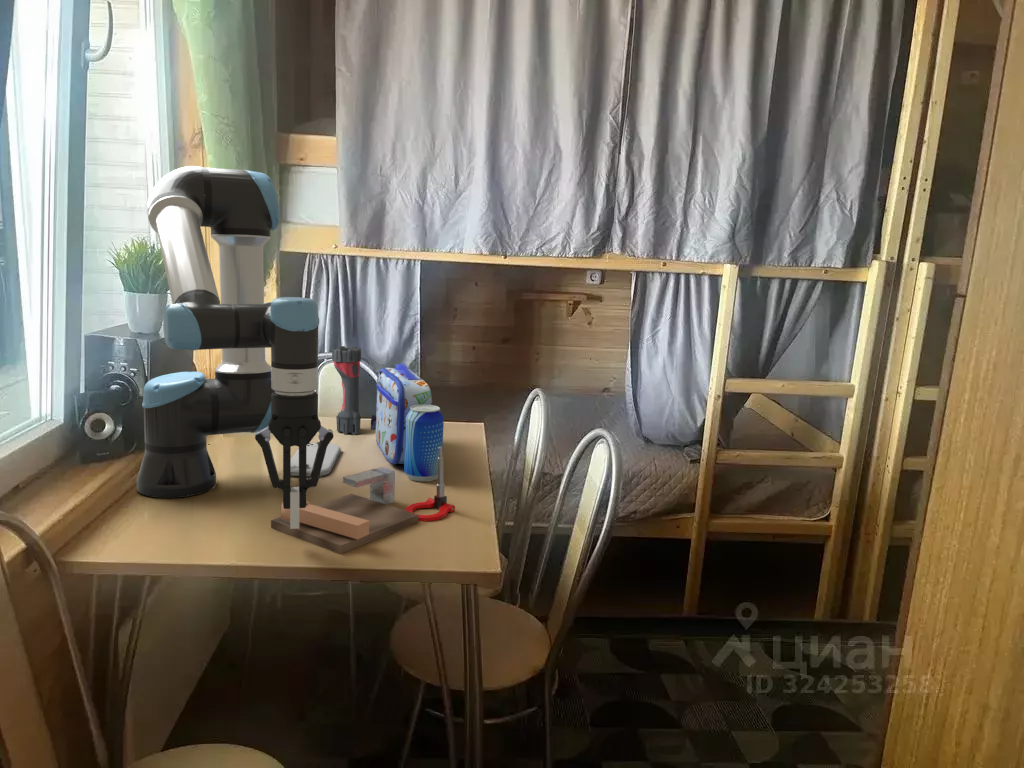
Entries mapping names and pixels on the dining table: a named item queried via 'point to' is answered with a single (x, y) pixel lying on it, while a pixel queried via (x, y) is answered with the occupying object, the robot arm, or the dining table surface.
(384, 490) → the keeper
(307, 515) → the link
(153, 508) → the dining table surface
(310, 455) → the handheld gaming console
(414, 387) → the lunch box
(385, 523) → the pintle plate
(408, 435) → the beer can
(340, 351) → the flashlight
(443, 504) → the tow hook
